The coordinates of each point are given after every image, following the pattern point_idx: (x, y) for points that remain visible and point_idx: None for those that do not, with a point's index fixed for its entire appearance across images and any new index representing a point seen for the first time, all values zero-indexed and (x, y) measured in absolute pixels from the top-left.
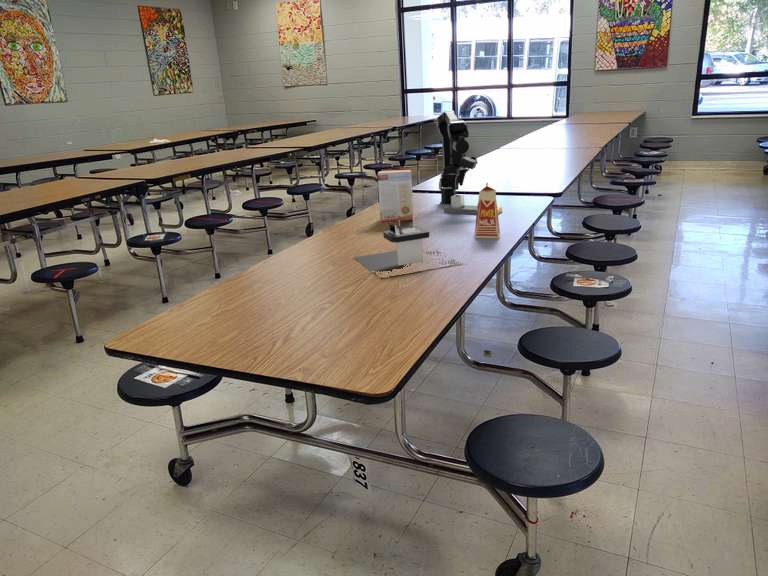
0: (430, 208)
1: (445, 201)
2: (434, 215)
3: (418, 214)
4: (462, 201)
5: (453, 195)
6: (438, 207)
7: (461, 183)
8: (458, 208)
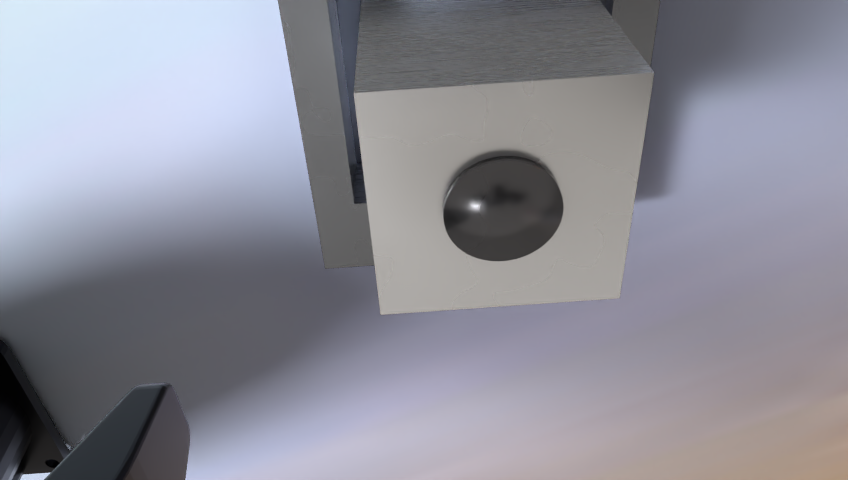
0: (382, 433)
1: (23, 432)
2: (793, 247)
3: (732, 412)
4: (486, 25)
5: (463, 307)
6: (292, 388)
7: (157, 458)
8: (614, 9)
